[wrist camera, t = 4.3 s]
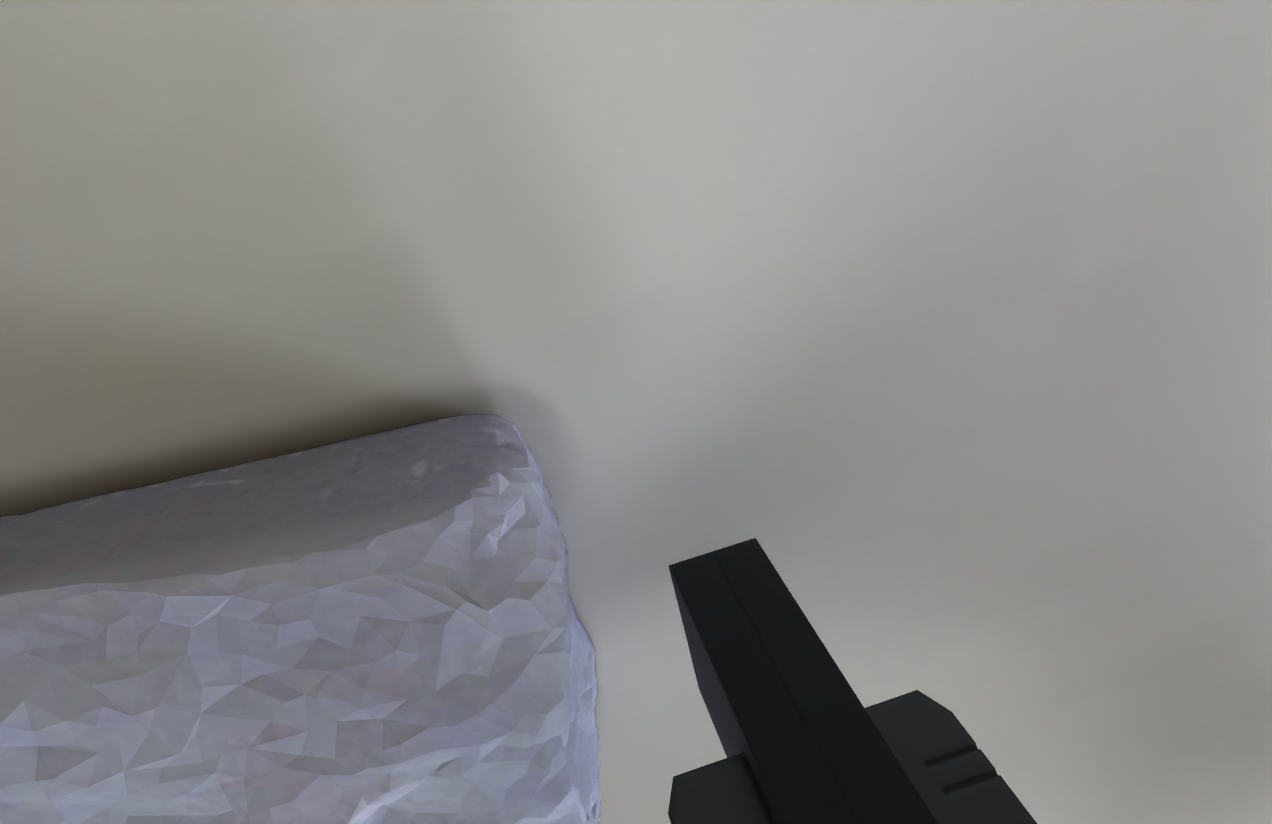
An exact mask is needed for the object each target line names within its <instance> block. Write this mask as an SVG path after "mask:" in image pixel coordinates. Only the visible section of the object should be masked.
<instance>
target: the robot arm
mask: <svg viewBox="0 0 1272 824" xmlns="http://www.w3.org/2000/svg"><path fill="white" fill-rule="evenodd" d="M669 569H670V573H671V577H672V581H673V585H674V589H675V593H676V597H677V601H678V606H679V610H680V614H681V618H682V622H683V626H684V630H685V634H686V638H687V642H688V646H689V650H690V654H691V658H692V662H693V666H694V670H695V674H696V678H697V682H698V686H699V689H700V692H701V694H702V697H703V699H704V702H705V704H706V707H707V709H708V711H709V714H710V716H711V719H712V721H713V724H714V726H715V729H716V731H717V733H718V736H719V738H720V741H721V743H722V746H723V748H724V751H725V753H726V755H727V758H726V759H723V760H720V761H717V762H714V763H711V764H709V765H706V766H703V767H700V768H697V769H694V770H691V771H688V772H685V773H682V774H680V775H677V776H674V777H673V783H672V790H671V797H670V804H669V811H668V815H669V818H670V821H671V824H1037V823H1036V822H1035V820H1034V819H1033V818H1032V816H1031V815H1030V814H1029V812H1028V811H1027V810H1026V808H1025V807H1024V806H1023V805H1022V803H1021V802H1020V801H1019V799H1018V798H1017V797H1016V795H1015V794H1014V793H1013V791H1012V790H1011V789H1010V788H1009V786H1008V785H1007V784H1006V782H1005V781H1004V780H1003V778H1002V777H1001V776H998V775H997V773H996V770H995V768H994V767H993V765H992V764H991V763H990V761H989V760H988V759H987V757H986V756H985V755H984V753H983V752H982V751H981V750H980V749H978V748H977V746H976V743H975V742H974V740H973V739H972V738H971V736H970V735H969V734H968V733H967V731H966V730H965V729H964V727H963V726H962V725H961V723H960V722H959V721H958V719H957V718H956V717H955V716H954V714H953V713H952V712H951V711H949V710H948V709H946V708H945V707H943V706H942V705H940V704H939V703H937V702H935V701H934V700H932V699H931V698H929V697H928V696H926V695H924V694H923V693H921V692H920V691H918V690H916V691H913V692H910V693H907V694H904V695H901V696H898V697H896V698H893V699H890V700H887V701H884V702H881V703H878V704H875V705H872V706H870V707H867V708H864V707H863V705H862V704H861V702H860V701H859V699H858V698H857V696H856V694H855V693H854V691H853V690H852V688H851V687H850V685H849V684H848V682H847V680H846V679H845V677H844V676H843V674H842V673H841V671H840V669H839V668H838V666H837V665H836V663H835V662H834V660H833V659H832V657H831V655H830V654H829V652H828V651H827V649H826V648H825V646H824V644H823V643H822V641H821V640H820V638H819V637H818V635H817V634H816V632H815V630H814V629H813V627H812V626H811V624H810V623H809V621H808V619H807V618H806V616H805V615H804V613H803V612H802V610H801V609H800V607H799V605H798V604H797V602H796V601H795V599H794V598H793V596H792V594H791V593H790V591H789V590H788V588H787V587H786V585H785V584H784V582H783V580H782V579H781V577H780V576H779V574H778V573H777V571H776V569H775V568H774V566H773V565H772V563H771V562H770V560H769V559H768V557H767V555H766V554H765V552H764V551H763V549H762V548H761V546H760V544H759V543H758V541H757V540H756V538H754V539H750V540H747V541H744V542H741V543H738V544H735V545H732V546H728V547H725V548H722V549H719V550H716V551H713V552H710V553H707V554H703V555H700V556H697V557H694V558H691V559H688V560H685V561H682V562H678V563H675V564H672V565H669Z"/></svg>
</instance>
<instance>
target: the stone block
mask: <svg viewBox="0 0 1272 824" xmlns="http://www.w3.org/2000/svg"><path fill="white" fill-rule="evenodd" d="M566 558H567V549H566V545H565V541H564V537H563V534H562V530H561V527H560V524H559V521H558V518H557V515H556V512H555V509H554V506H553V503H552V500H551V496H550V492H549V491H548V489H547V488H546V486H545V485H544V483H543V478H542V471H541V469H540V468H539V466H538V464H537V462H536V460H535V458H534V456H533V454H532V451H531V449H530V448H529V447H528V446H527V444H526V443H525V442H524V441H523V439H522V437H521V435H520V433H519V431H518V429H517V428H516V427H515V426H514V425H513V424H512V423H510V422H508V421H507V420H505V419H503V418H501V417H499V416H496V415H466V416H459V417H452V418H446V419H441V420H436V421H431V422H426V423H421V424H417V425H413V426H408V427H404V428H400V429H395V430H391V431H387V432H382V433H378V434H373V435H368V436H363V437H359V438H355V439H351V440H347V441H343V442H338V443H334V444H330V445H326V446H322V447H318V448H313V449H309V450H304V451H300V452H295V453H291V454H286V455H282V456H277V457H272V458H267V459H262V460H257V461H253V462H249V463H245V464H241V465H237V466H232V467H228V468H223V469H218V470H214V471H209V472H205V473H200V474H196V475H191V476H187V477H183V478H180V479H175V480H171V481H167V482H162V483H158V484H154V485H149V486H145V487H141V488H135V489H129V490H123V491H117V492H113V493H109V494H104V495H100V496H96V497H91V498H87V499H82V500H78V501H74V502H69V503H65V504H61V505H57V506H53V507H49V508H45V509H41V510H38V511H35V512H32V513H29V514H25V515H16V516H5V517H0V824H600V823H599V818H600V804H601V801H600V785H599V765H598V732H597V727H596V722H595V717H594V708H595V700H596V695H597V690H598V688H597V684H596V679H595V674H594V665H595V650H594V648H593V645H592V643H591V641H590V639H589V637H588V635H587V633H586V631H585V629H584V628H583V626H582V624H581V623H580V621H579V620H578V618H577V617H576V614H575V611H574V606H573V604H572V601H571V599H570V596H569V594H568V592H567V569H566Z"/></svg>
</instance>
